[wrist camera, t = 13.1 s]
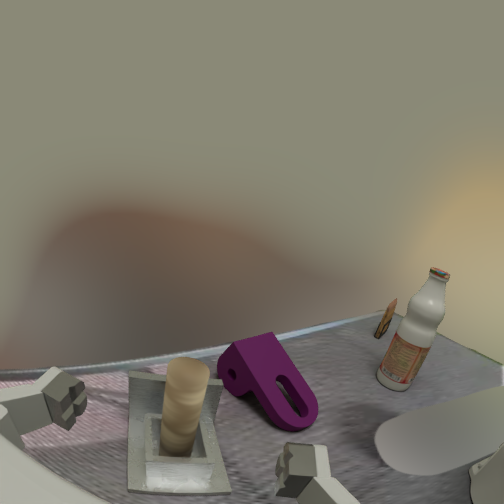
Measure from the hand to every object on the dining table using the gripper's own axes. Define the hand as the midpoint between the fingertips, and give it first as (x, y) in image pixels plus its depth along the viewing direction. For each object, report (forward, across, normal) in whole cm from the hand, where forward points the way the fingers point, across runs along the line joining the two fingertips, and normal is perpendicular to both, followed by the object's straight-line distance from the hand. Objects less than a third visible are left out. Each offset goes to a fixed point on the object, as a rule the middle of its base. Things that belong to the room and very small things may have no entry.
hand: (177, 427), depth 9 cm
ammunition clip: (+73, -46, +27) cm, 90 cm away
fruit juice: (+44, -39, +26) cm, 65 cm away
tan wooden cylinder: (+14, +3, +24) cm, 28 cm away
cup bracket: (+14, +3, +25) cm, 28 cm away
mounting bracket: (+32, -8, +26) cm, 42 cm away
